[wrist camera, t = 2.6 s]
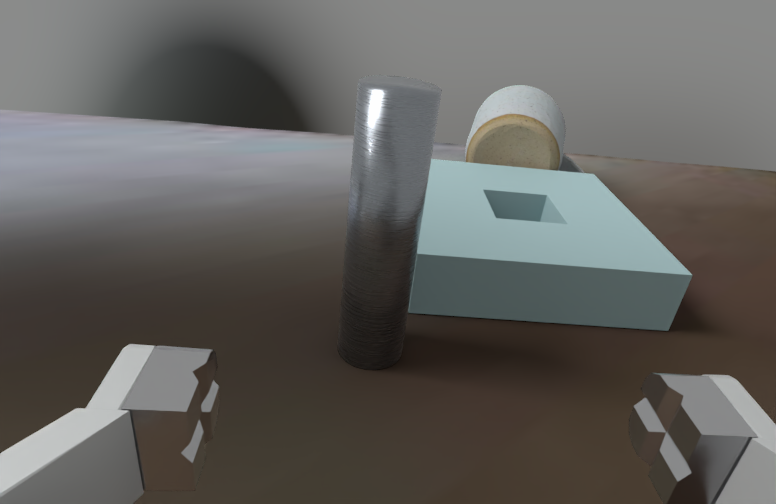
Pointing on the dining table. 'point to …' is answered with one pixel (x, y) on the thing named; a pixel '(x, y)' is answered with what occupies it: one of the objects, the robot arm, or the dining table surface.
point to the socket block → (539, 251)
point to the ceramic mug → (519, 131)
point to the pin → (385, 215)
